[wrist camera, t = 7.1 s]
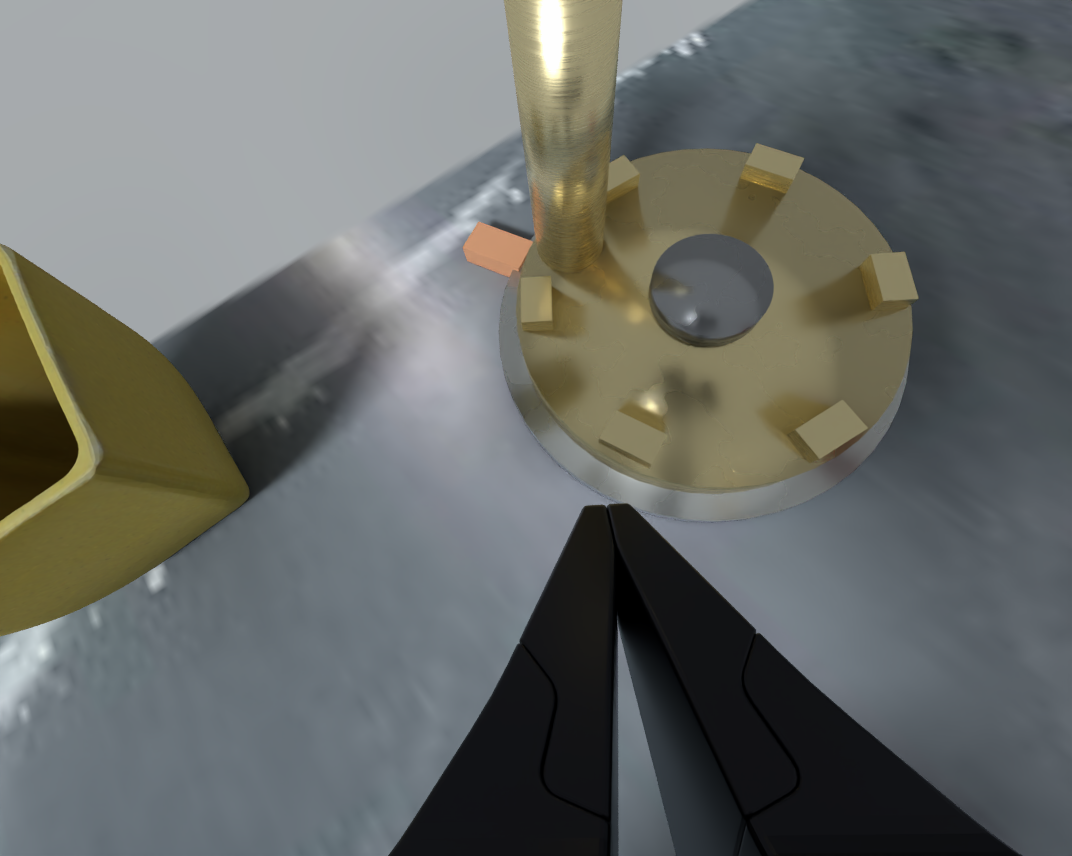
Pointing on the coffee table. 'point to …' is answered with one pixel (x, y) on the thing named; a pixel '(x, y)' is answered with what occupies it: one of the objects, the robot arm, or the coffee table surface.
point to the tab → (496, 249)
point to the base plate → (654, 493)
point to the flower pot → (93, 452)
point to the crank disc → (627, 266)
